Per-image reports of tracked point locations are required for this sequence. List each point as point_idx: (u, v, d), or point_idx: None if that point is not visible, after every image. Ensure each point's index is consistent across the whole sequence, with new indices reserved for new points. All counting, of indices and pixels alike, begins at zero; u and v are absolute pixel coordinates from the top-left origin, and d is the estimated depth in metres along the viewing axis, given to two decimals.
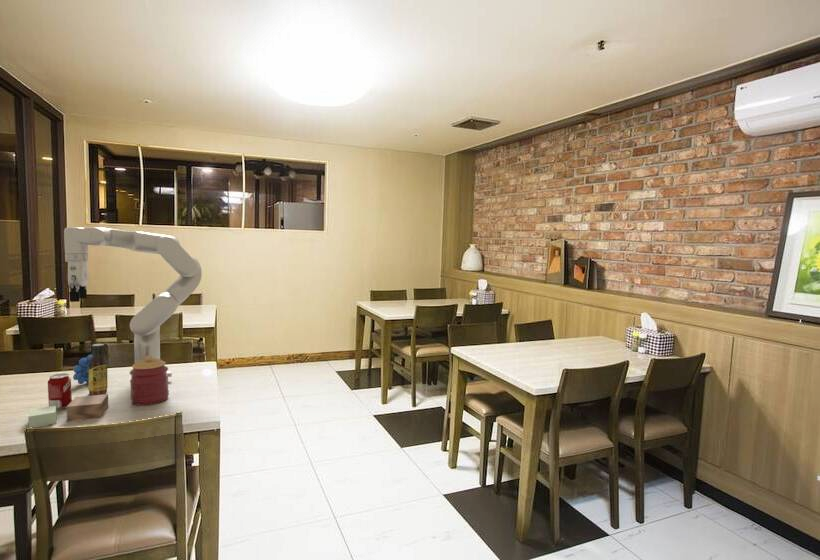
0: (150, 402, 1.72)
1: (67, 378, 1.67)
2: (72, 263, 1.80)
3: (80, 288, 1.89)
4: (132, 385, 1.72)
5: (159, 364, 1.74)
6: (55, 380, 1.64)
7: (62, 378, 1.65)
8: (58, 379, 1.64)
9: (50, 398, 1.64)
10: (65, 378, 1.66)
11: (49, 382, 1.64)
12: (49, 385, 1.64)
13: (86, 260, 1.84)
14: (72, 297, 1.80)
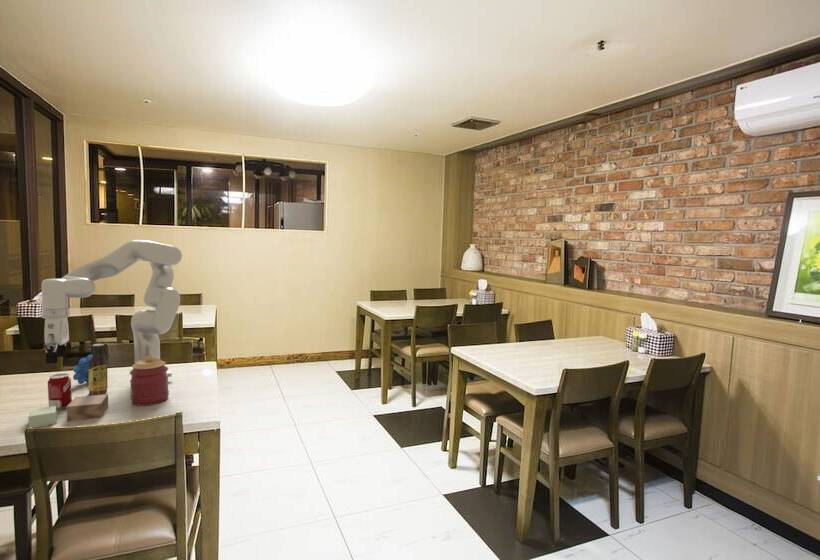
0: (150, 402, 1.72)
1: (67, 378, 1.67)
2: (50, 320, 1.60)
3: (59, 345, 1.69)
4: (132, 385, 1.72)
5: (159, 364, 1.74)
6: (55, 380, 1.64)
7: (62, 378, 1.65)
8: (58, 379, 1.64)
9: (50, 398, 1.64)
10: (65, 378, 1.66)
11: (49, 382, 1.64)
12: (49, 385, 1.64)
13: (66, 315, 1.64)
14: (49, 358, 1.60)
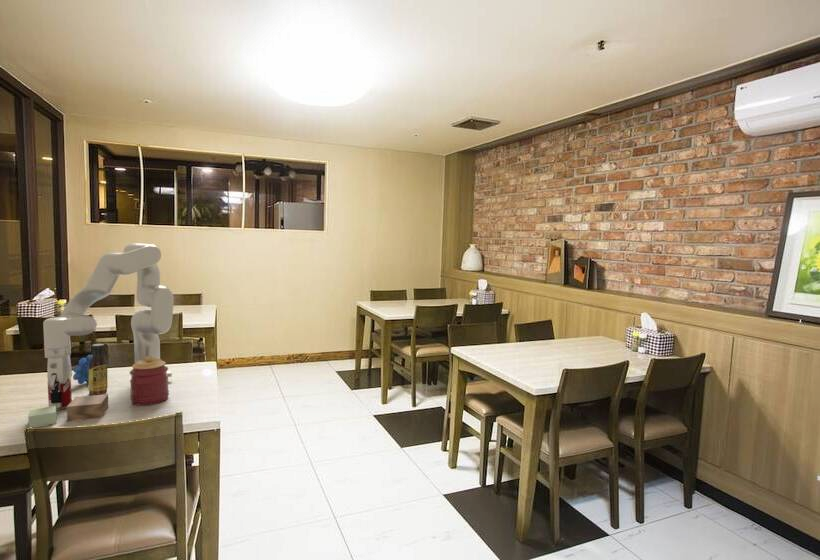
0: (150, 402, 1.72)
1: None
2: (52, 360, 1.62)
3: None
4: (132, 385, 1.72)
5: (159, 364, 1.74)
6: None
7: None
8: None
9: (50, 398, 1.64)
10: None
11: None
12: None
13: (68, 354, 1.66)
14: (54, 399, 1.63)
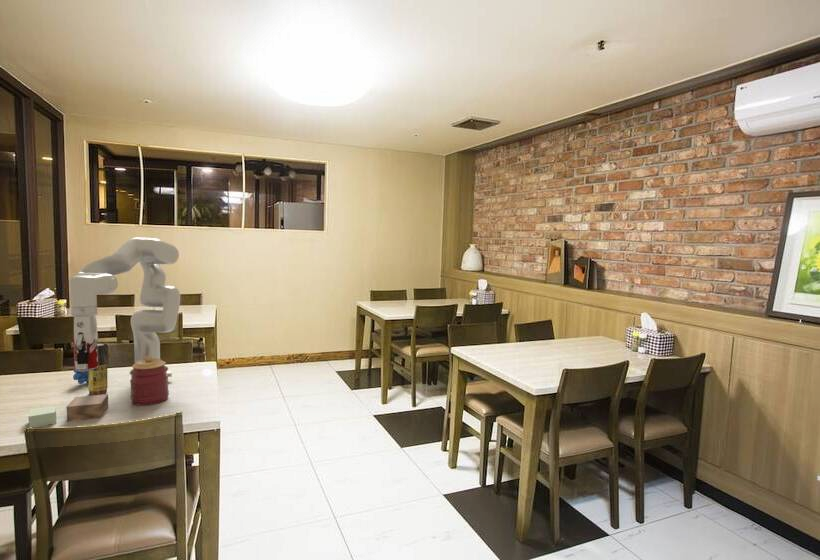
0: (150, 402, 1.72)
1: None
2: (79, 318, 1.55)
3: None
4: (132, 385, 1.72)
5: (159, 364, 1.74)
6: None
7: None
8: None
9: (76, 359, 1.57)
10: None
11: None
12: (75, 345, 1.57)
13: (95, 313, 1.59)
14: (80, 359, 1.56)
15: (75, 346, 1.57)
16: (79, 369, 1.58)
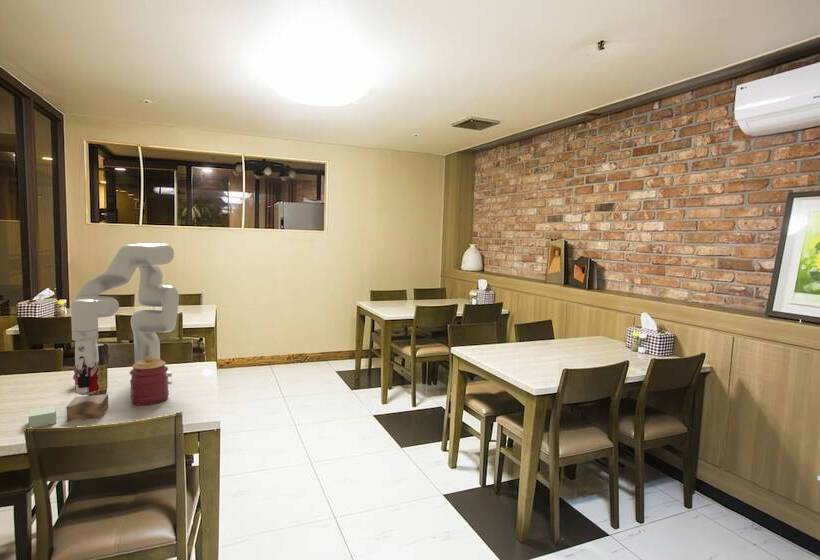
0: (150, 402, 1.72)
1: None
2: (80, 342, 1.56)
3: None
4: (132, 385, 1.72)
5: (159, 364, 1.74)
6: None
7: None
8: None
9: (77, 382, 1.58)
10: None
11: None
12: (76, 369, 1.58)
13: (96, 337, 1.60)
14: (81, 383, 1.57)
15: (76, 370, 1.58)
16: (80, 393, 1.58)
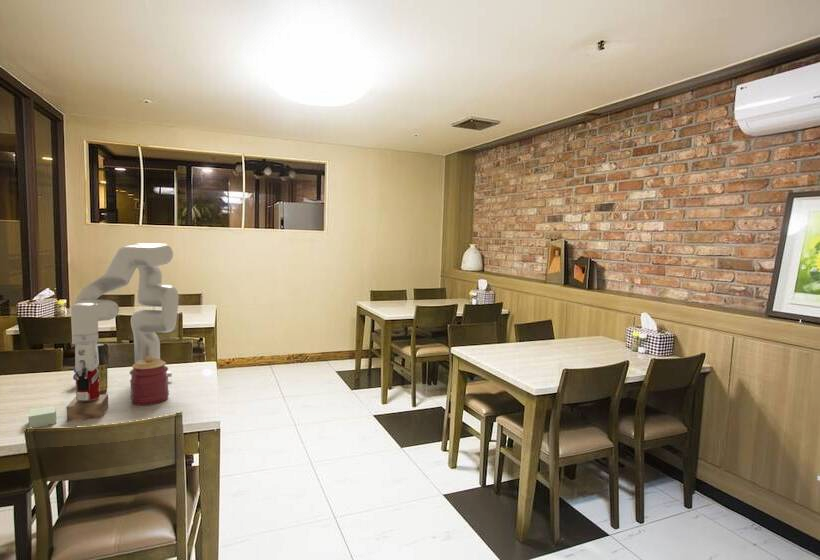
0: (150, 402, 1.72)
1: (95, 369, 1.61)
2: (80, 346, 1.56)
3: None
4: (132, 385, 1.72)
5: (159, 364, 1.74)
6: None
7: None
8: None
9: None
10: None
11: (77, 373, 1.58)
12: None
13: (96, 340, 1.60)
14: (80, 386, 1.56)
15: None
16: (81, 400, 1.59)
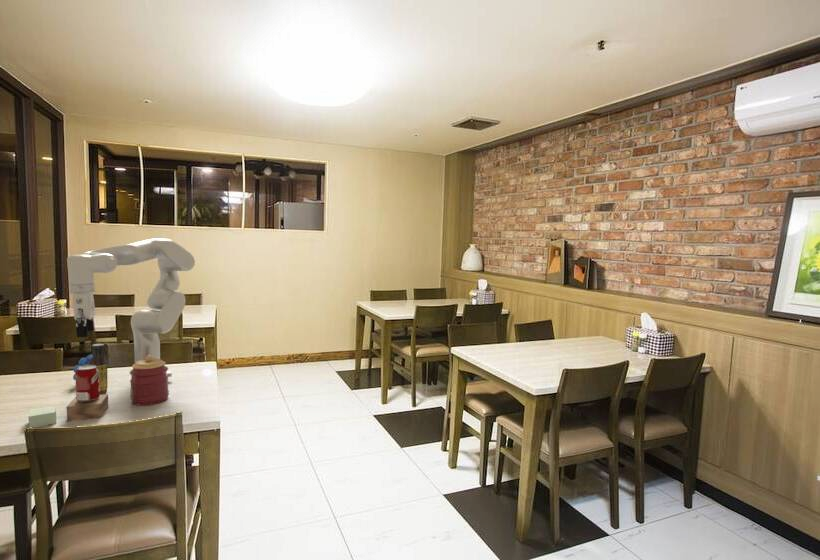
0: (150, 402, 1.72)
1: (95, 369, 1.61)
2: (78, 295, 1.63)
3: (86, 320, 1.73)
4: (132, 385, 1.72)
5: (159, 364, 1.74)
6: (83, 371, 1.58)
7: (90, 369, 1.60)
8: (86, 370, 1.59)
9: (78, 390, 1.58)
10: (93, 369, 1.60)
11: (77, 373, 1.58)
12: (77, 377, 1.58)
13: (93, 290, 1.68)
14: (79, 332, 1.64)
15: (77, 377, 1.58)
16: (81, 400, 1.59)
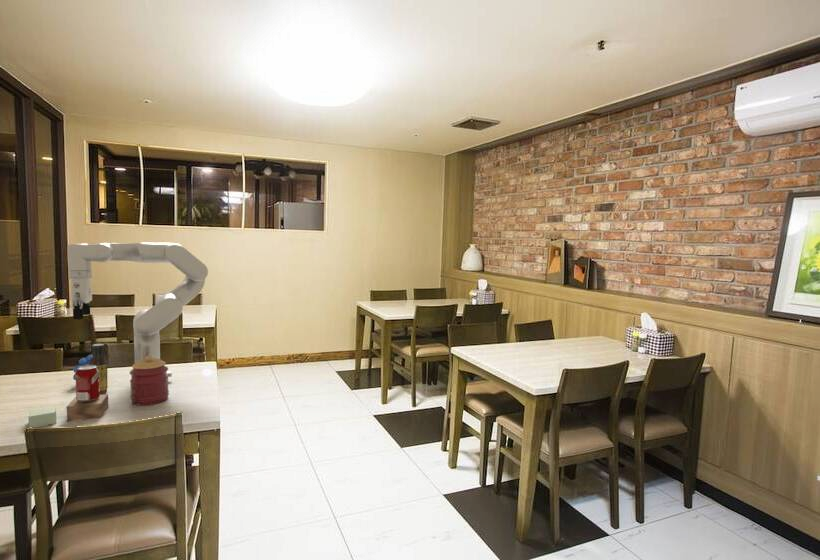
0: (150, 402, 1.72)
1: (95, 369, 1.61)
2: (76, 280, 1.78)
3: (83, 304, 1.87)
4: (132, 385, 1.72)
5: (159, 364, 1.74)
6: (83, 371, 1.58)
7: (90, 369, 1.60)
8: (86, 370, 1.59)
9: (78, 390, 1.58)
10: (93, 369, 1.60)
11: (77, 373, 1.58)
12: (77, 377, 1.58)
13: (90, 277, 1.82)
14: (76, 314, 1.78)
15: (77, 377, 1.58)
16: (81, 400, 1.59)
